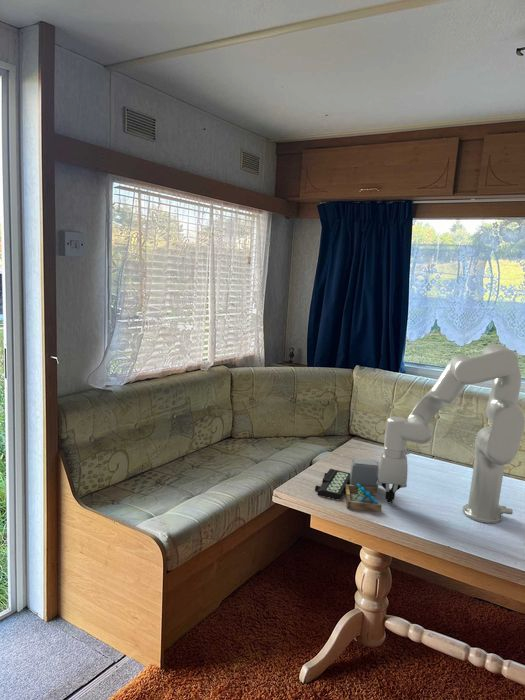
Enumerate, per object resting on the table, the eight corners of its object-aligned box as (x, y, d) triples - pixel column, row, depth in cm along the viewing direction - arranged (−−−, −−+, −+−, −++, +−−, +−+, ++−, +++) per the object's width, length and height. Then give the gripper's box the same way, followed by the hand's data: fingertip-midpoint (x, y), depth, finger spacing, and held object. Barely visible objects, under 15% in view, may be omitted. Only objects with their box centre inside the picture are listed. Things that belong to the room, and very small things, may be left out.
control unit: (375, 485, 199) (378, 459, 197) (377, 493, 192) (380, 466, 190) (349, 482, 200) (351, 456, 198) (350, 490, 193) (352, 463, 191)
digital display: (327, 466, 207) (352, 472, 204) (326, 474, 208) (351, 480, 204) (313, 486, 188) (340, 493, 184) (312, 495, 188) (339, 502, 185)
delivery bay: (376, 493, 192) (376, 486, 191) (380, 512, 178) (381, 504, 177) (344, 490, 193) (345, 483, 192) (347, 508, 179) (347, 500, 178)
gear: (384, 506, 178) (366, 486, 176) (372, 519, 177) (354, 499, 176) (371, 496, 189) (354, 477, 187) (360, 508, 188) (342, 489, 187)
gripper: (414, 450, 184) (408, 498, 187) (371, 446, 185) (367, 494, 188) (418, 458, 177) (412, 508, 180) (374, 454, 178) (369, 503, 181)
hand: (389, 501), depth 184 cm, fingers closed
